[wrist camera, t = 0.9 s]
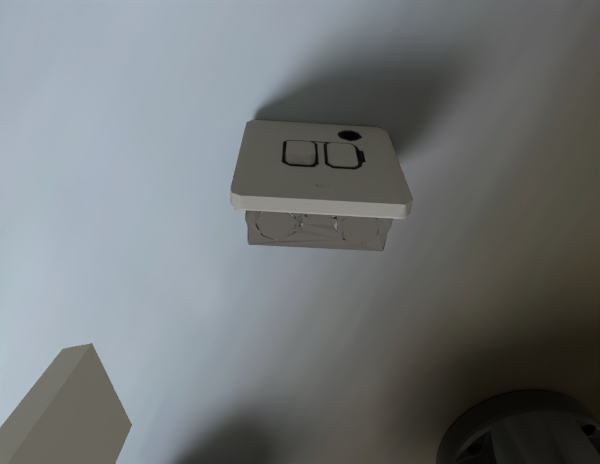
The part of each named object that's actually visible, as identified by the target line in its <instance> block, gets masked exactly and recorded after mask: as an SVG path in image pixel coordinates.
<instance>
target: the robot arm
mask: <svg viewBox="0 0 600 464" xmlns="http://www.w3.org/2000/svg"><path fill="white" fill-rule="evenodd" d="M131 426H132V424H131V422H130V420H129V418H128V416H127V414H126V412H125V410H124V408H123V406H122V404H121V402H120V400H119V398H118V396H117V394H116V392H115V390H114V388H113V385H112V383H111V381H110V379H109V377H108V375H107V373H106V371H105V369H104V367H103V365H102V363H101V361H100V359H99V357H98V355H97V353H96V351H95V349H94V346H93V344H92V343H91V344H86V345H81V346H75V347H70V348H65V349H62V350H61V352H60V353H59V354H58V355H57V357H56V358H55V359H54V361H53V362H52V363H51V364H50V366H49V367H48V368H47V369H46V371H45V372H44V373H43V374H42V376H41V377H40V378H39V379H38V381H37V382H36V383H35V385H34V386H33V387H32V388H31V390H30V391H29V392H28V393H27V395H26V396H25V397H24V398H23V400H22V401H21V402H20V403H19V405H18V406H17V407H16V409H15V410H14V411H13V412H12V414H11V415H10V416H9V417H8V419H7V420H6V421H5V422H4V424H3V425H2V426H1V427H0V464H115V463H116V460H117V458H118V456H119V453H120V451H121V449H122V447H123V444H124V442H125V440H126V437H127V435H128V433H129V431H130V428H131ZM436 464H600V423H599V422H598V421H597V419H596V418H595V417H594V416H593V415H592V414H591V412H590V411H589V410H588V409H587V408H586V407H585V406H584V405H582V404H581V403H580V402H578V401H576V400H575V399H573V398H571V397H568V396H566V395H563V394H559V393H555V392H549V391H537V390H533V391H520V392H514V393H509V394H505V395H501V396H498V397H495V398H493V399H490V400H488V401H486V402H483V403H481V404H480V405H478V406H476V407H474V408H473V409H471V410H470V411H468V412H467V413H465V414H464V415H463V416H462V417H460V418H459V419H458V420H457V421H456V422H455V423H454V424H453V425H452V426H451V427H450V429H449V430H448V431H447V433H446V434H445V436H444V437H443V439H442V441H441V443H440V446H439V449H438V453H437V459H436Z"/></svg>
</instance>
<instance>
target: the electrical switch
mask: <svg viewBox="0 0 600 464" xmlns="http://www.w3.org/2000/svg"><path fill="white" fill-rule="evenodd" d="M412 201H413V198H412V195H411V193H410V190H409V187H408V185H407V182H406V180H405V177H404V174H403V172H402V169H401V166H400V164H399V161H398V159H397V156H396V153H395V151H394V148H393V145H392V143H391V140H390V138H389V135H388V132H387V131H386V130H383V129H381V128H379V127H367V126H351V125H335V124H319V123H302V122H286V121H270V120H251V121H249V122H247V123H246V127H245V131H244V134H243V139H242V143H241V147H240V151H239V155H238V160H237V164H236V168H235V172H234V176H233V181H232V185H231V191H230V202H231V204H232V205H233V207H234V209H235V210H246V215H245V220H246V223H247V226H248V242H249V245H269V246H289V247H309V248H329V249H349V250H369V251H383V250H384V245H385V241H386V236H387V233H388V231H389V229H390V228H391V224H392V220H393V218H394V219H404V218H405V217H406V216H408V215H409V214H410V211H411V206H412ZM262 211H263V213H262V214H261V212H262ZM289 213H291V214H292V215H293V216H294V217H293V216H291V215H290V214H289ZM260 214H261V215H260ZM302 215H305V216H302ZM332 216H336V217H333V218H332ZM375 217H376V218H375ZM336 221H337V230H336V229H335V227H334V226H333V225H334V224H335V223H336ZM301 222H302V223H303V226H302V228H301ZM295 227H296V231H294V230H295ZM258 228H259V229H258ZM259 230H260V232H261V233H260V232H259ZM275 239H276V240H275ZM346 240H347V241H346ZM363 243H365V244H363Z"/></svg>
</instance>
